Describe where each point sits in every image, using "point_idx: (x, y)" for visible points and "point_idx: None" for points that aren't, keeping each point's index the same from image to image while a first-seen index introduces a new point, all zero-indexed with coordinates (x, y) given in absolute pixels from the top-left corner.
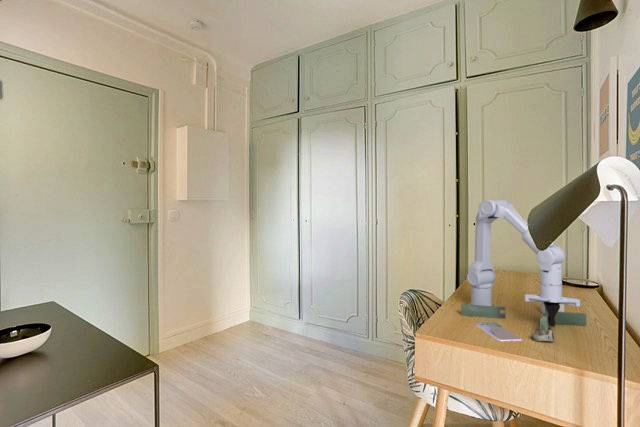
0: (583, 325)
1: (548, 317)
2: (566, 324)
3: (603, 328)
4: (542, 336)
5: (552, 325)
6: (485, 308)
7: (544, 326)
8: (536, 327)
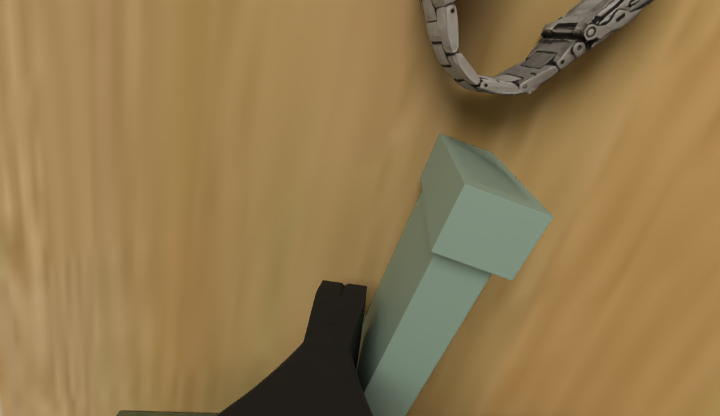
0: (132, 412)
1: None
2: None
3: (38, 392)
4: None
5: (341, 288)
6: None
7: (470, 158)
8: None
